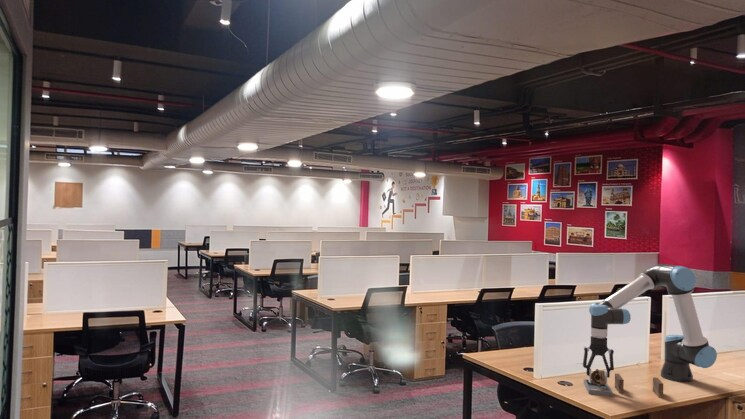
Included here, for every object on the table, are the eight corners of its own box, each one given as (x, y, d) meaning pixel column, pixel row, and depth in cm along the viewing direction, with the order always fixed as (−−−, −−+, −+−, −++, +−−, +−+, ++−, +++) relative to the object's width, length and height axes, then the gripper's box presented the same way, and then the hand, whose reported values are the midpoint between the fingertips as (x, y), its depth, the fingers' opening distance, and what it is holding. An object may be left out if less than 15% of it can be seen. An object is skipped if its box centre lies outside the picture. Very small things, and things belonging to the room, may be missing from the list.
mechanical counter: (592, 392, 248) (591, 371, 248) (587, 383, 261) (586, 364, 261) (608, 392, 247) (607, 371, 247) (602, 384, 259) (601, 364, 260)
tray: (605, 386, 261) (605, 381, 261) (612, 397, 244) (612, 392, 244) (583, 383, 263) (583, 379, 263) (588, 394, 247) (588, 389, 247)
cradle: (657, 391, 254) (657, 377, 254) (663, 398, 245) (663, 384, 245) (614, 387, 259) (614, 373, 259) (618, 393, 249) (619, 379, 249)
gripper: (618, 336, 255) (617, 382, 255) (576, 333, 260) (575, 378, 260) (622, 339, 248) (620, 387, 248) (578, 336, 253) (577, 383, 253)
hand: (597, 382), depth 254 cm, fingers closed on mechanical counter, 6 cm apart
